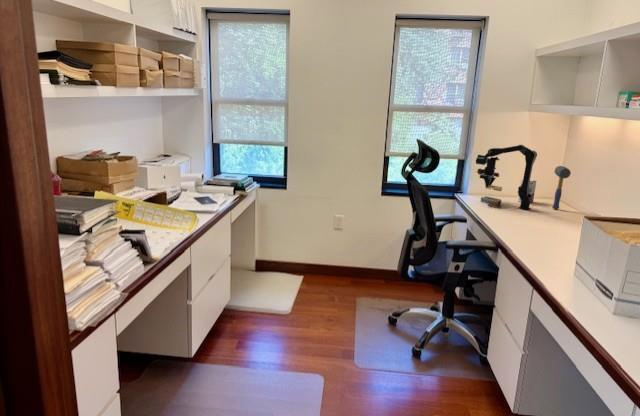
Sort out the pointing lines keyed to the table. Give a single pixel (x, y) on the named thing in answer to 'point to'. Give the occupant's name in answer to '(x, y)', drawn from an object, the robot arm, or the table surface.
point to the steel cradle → (487, 199)
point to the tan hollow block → (494, 203)
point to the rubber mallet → (560, 184)
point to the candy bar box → (532, 189)
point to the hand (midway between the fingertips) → (487, 187)
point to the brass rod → (494, 188)
